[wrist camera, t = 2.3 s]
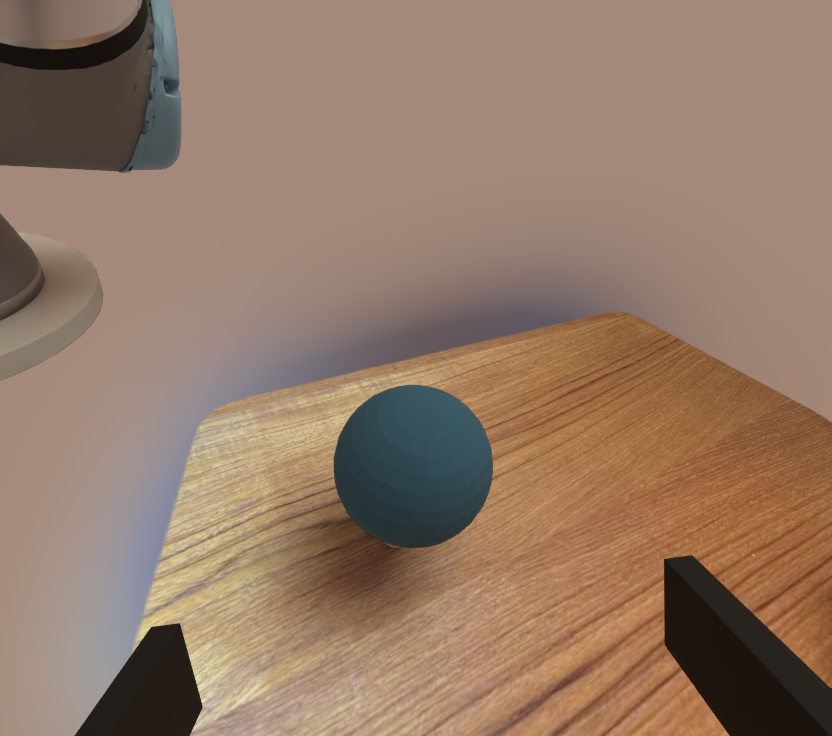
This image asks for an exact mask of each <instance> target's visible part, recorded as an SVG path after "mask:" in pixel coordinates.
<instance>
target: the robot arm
mask: <svg viewBox="0 0 832 736" xmlns="http://www.w3.org/2000/svg"><path fill="white" fill-rule="evenodd" d="M178 87H179V61H178V49H177V38H176V29H175V23H174V16H173V10H172V6H171V2H170V0H0V165H8V166H27V167H46V168H65V169H85V170H103V171H118V172H122V173H126V172H130V171H131V170H159V169H165V168H168V167H170V166H172V165H173V163H175V161H176V160H177V158H178V156H179V152H180V145H181V98H180V91H179V88H178ZM44 280H45V278H44V273H43V271H42V268H41V266H40V263H39V261H38V259H37V257H36V256H35V254H34V252H33V251H32V249H31V248H30V246H29V245H28V244H27V243H26V242H25V241H24V240H23V239H22V238H21V237H20V235H19V234H18V233H17V232H16V231H15V230H14V228H13V227H12V226H11V225H10V224H9V223H8V222H7V220H6V219H5V218H4V217H3V216H2V215H1V214H0V321H1V320H3V319H5V318H7V317H9V316H11V315H12V314H14V313H16V312H18V311H19V310H21V309H22V308H24V307H25V306H26V305H28V304H29V303H30V302H31V301H32V300H33V299H34V298H35V297H36V296H37V295H38V294H39V293H40V291H41V289H42V288H43V285H44ZM664 609H665V646H666V647H667V649H668V650H669V651H670V653H671V654H672V656H673V657H674V658H675V660H676V661H677V663H678V664H679V665H680V667H681V668H682V670H683V671H684V672H685V674H686V675H687V677H688V678H689V679H690V681H691V682H692V684H693V685H694V686H695V688H696V689H697V691H698V692H699V693H700V695H701V696H702V698H703V699H704V700H705V702H706V703H707V705H708V706H709V707H710V709H711V710H712V712H713V713H714V714H715V716H716V717H717V719H718V720H719V721H720V723H721V724H722V726H723V727H724V728H725V730H726V731H727V733H728V734H729V735H730V736H832V688H830V687H829V686H828V685H827V684H826V683H825V682H823V681H822V680H821V679H820V678H819V677H818V676H817V675H816V674H815V673H814V672H813V671H812V670H811V669H810V668H809V667H808V666H807V665H806V664H805V663H804V662H803V661H802V660H801V659H800V658H798V657H797V656H796V655H795V654H794V653H793V652H792V651H791V650H790V649H789V648H788V647H787V646H786V645H785V644H784V643H783V642H782V641H781V640H780V639H779V638H778V637H777V636H776V635H775V634H774V633H772V632H771V631H770V630H769V629H768V628H767V627H766V626H765V625H764V624H763V623H762V622H761V621H760V620H759V619H758V618H757V617H756V616H755V615H754V614H753V613H752V612H751V611H750V610H749V609H747V608H746V607H745V606H744V605H743V604H742V603H741V602H740V601H739V600H738V599H737V598H736V597H735V596H734V595H733V594H732V593H731V592H730V591H729V590H728V589H727V588H726V587H725V586H724V585H723V584H721V583H720V582H719V581H718V580H717V579H716V578H715V577H714V576H713V575H712V574H711V573H710V572H709V571H708V570H707V569H706V568H705V567H704V566H703V565H702V564H701V563H700V562H699V561H698V560H696V559H695V558H694V557H693V556H692V555H691V556H683V557H676V558H668V559H664ZM202 707H203V706H202V702H201V699H200V695H199V692H198V688H197V684H196V681H195V677H194V673H193V670H192V666H191V662H190V659H189V655H188V651H187V648H186V644H185V640H184V637H183V633H182V629H181V626H180V623H178V624H171V625H163V626H156V627H151V628H150V630H149V631H148V632H147V634H146V635H145V637H144V638H143V639H142V641H141V642H140V644H139V645H138V647H137V648H136V649H135V651H134V652H133V654H132V655H131V657H130V658H129V659H128V661H127V662H126V664H125V665H124V666H123V668H122V669H121V671H120V672H119V674H118V675H117V676H116V678H115V679H114V681H113V682H112V683H111V685H110V686H109V688H108V689H107V691H106V692H105V694H104V695H103V697H102V698H101V699H100V701H99V702H98V703H97V705H96V706H95V708H94V709H93V711H92V712H91V713H90V715H89V716H88V718H87V719H86V720H85V722H84V723H83V725H82V726H81V728H80V729H79V730H78V732H77V733H76V735H75V736H190V734H191V732H192V729H193V727H194V725H195V723H196V721H197V718H198V716H199V714H200V712H201V710H202Z"/></svg>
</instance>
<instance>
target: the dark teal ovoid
mask: <svg viewBox="0 0 832 736" xmlns="http://www.w3.org/2000/svg"><path fill="white" fill-rule="evenodd" d="M492 475H493V460H492V450H491V447H490V444H489V441H488V438H487V435H486V432H485V430H484V428H483V426H482V425H481V423H480V421H479V420H478V418H477V417H476V416H475V415H474V414H473V413H472V411H471V410H470V409H469V408H468V407H467V406H466V405H465V404H464V403H463V402H461V401H460V400H459V399H457V398H456V397H454V396H452V395H451V394H449V393H446V392H444V391H442V390H439V389H436V388H432V387H428V386H422V385H405V386H398V387H395V388H391V389H388V390H385V391H383V392H381V393H378V394H376V395H374V396H372V397H371V398H370V399H368V400H367V401H366V402H364V403H363V404H362V405H361V406H360V407H359V408H357V410H356V411H355V412H354V413H353V414H352V415H351V416H350V418H349V419H348V421H347V423H346V424H345V426H344V428H343V430H342V432H341V434H340V436H339V439H338V443H337V447H336V451H335V455H334V478H335V484H336V488H337V492H338V495H339V497H340V499H341V501H342V503H343V505H344V507H345V509H346V511H347V513H348V514H349V516H350V517H351V518H352V519H353V521H354V522H355V523H356V524H357V525H358V526H359V527H360V528H362V529H363V530H364V531H365V532H366V533H368V534H369V535H371V536H373V537H375V538H376V539H378V540H380V541H382V542H385V543H386V544H387V545H388V546H390V547H392V548H398V547H406V548H422V547H429V546H433V545H437V544H441V543H443V542H445V541H447V540H449V539H451V538H453V537H454V536H456V535H457V534H459V533H460V532H461V531H462V530H464V529H465V528H466V527H467V526H468V525H470V524H471V522H472V521H473V520H474V518H475V517H476V515H477V514H478V513H479V511H480V510H481V508H482V507H483V505H484V503H485V501H486V498H487V496H488V493H489V490H490V486H491V482H492Z"/></svg>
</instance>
